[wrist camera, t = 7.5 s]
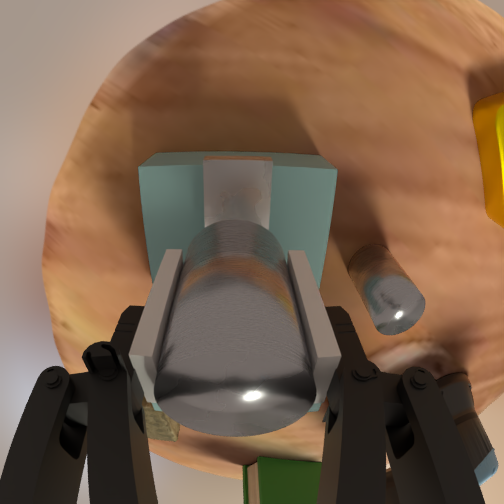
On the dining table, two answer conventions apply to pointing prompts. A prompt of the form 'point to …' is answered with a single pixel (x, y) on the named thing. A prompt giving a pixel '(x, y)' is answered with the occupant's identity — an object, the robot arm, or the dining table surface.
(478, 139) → the element tile
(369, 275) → the cylinder
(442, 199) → the dining table surface
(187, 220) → the scale body
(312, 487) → the hardback book
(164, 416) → the stone block
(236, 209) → the platform
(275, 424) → the cylinder
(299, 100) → the dining table surface
